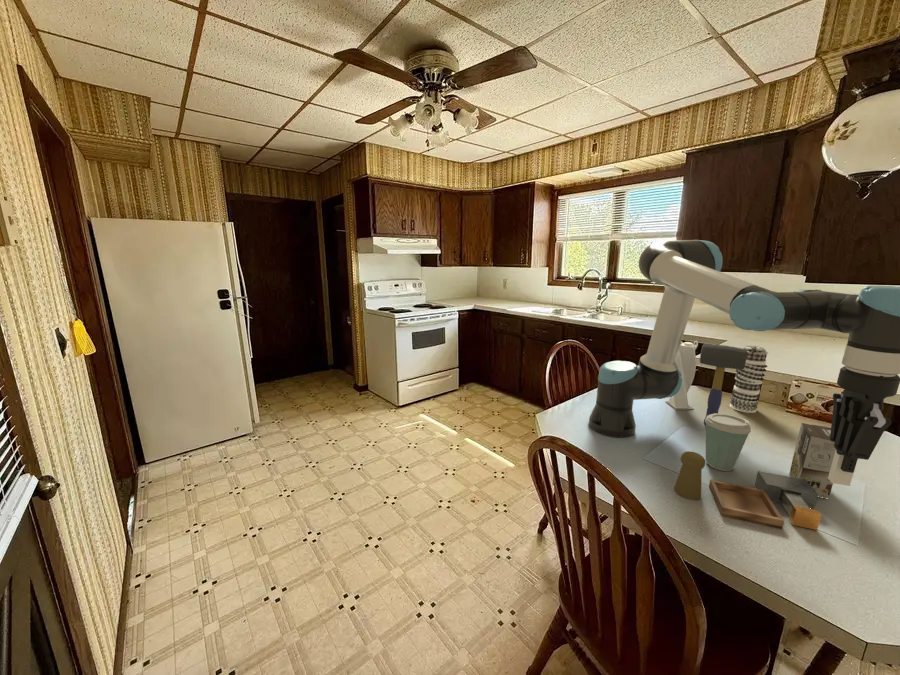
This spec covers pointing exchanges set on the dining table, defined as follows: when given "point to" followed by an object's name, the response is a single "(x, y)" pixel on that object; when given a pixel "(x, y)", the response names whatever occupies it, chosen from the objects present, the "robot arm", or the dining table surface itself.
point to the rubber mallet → (720, 369)
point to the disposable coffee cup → (725, 439)
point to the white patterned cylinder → (749, 380)
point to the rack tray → (745, 504)
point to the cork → (690, 476)
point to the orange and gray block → (799, 510)
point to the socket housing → (785, 487)
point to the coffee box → (814, 458)
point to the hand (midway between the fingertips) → (838, 482)
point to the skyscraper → (684, 375)
